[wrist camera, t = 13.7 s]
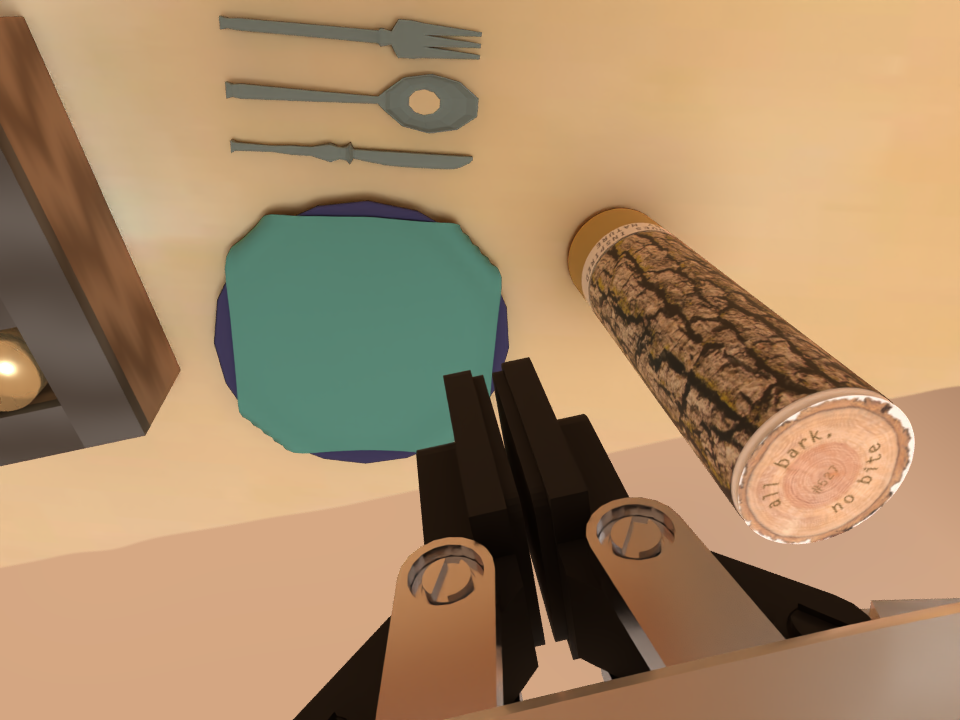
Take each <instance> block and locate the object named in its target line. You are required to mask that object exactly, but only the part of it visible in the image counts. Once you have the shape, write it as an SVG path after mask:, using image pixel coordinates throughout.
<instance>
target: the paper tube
mask: <svg viewBox="0 0 960 720" xmlns="http://www.w3.org/2000/svg"><path fill="white" fill-rule="evenodd" d="M568 267H569V272H570V276H571V278H572V281H573V283H574V284H575V286H576V287H577V289H578V290H579V291H580V293H581V294H582V296H583V297H584V298H585V300H586V301H587V303H588V304H589V306H590V307H591V309H592V310H593V312H594V313H595V314H596V316H597V317H598V319H599V320H600V321H601V323H602V324H603V326H604V327H605V328H606V330H607V331H608V332H609V334H610V335H611V337H612V338H613V339H614V341H615V342H616V344H617V345H618V346H619V348H620V349H621V351H622V352H623V353H624V355H625V356H626V358H627V359H628V360H629V362H630V363H631V365H632V366H633V367H634V369H635V370H636V372H637V373H638V374H639V376H640V377H641V378H642V380H643V381H644V383H645V384H646V385H647V387H648V388H649V390H650V391H651V392H652V394H653V395H654V397H655V398H656V399H657V401H658V402H659V404H660V405H661V406H662V408H663V409H664V411H665V412H666V413H667V415H668V416H669V418H670V419H671V420H672V422H673V423H674V424H675V426H676V427H677V429H678V430H679V431H680V433H681V434H682V436H683V437H684V438H685V440H686V441H687V443H688V444H689V445H690V447H691V448H692V449H693V451H694V452H695V454H696V455H697V456H698V458H699V459H700V461H701V462H702V464H703V465H704V466H705V467H706V469H707V470H708V472H709V473H710V475H711V476H712V477H713V479H714V480H715V482H716V483H717V484H718V486H719V487H720V489H721V490H722V491H723V493H724V494H725V496H726V497H727V498H728V500H729V501H730V502H731V504H732V505H733V507H734V508H735V510H736V511H737V512H738V514H739V515H740V516H741V517H742V519H743V520H744V521H745V522H746V523H747V525H748V526H749V527H750V528H751V529H752V530H753V531H754V532H756V533H757V534H759V535H760V536H762V537H764V538H766V539H768V540H772V541H775V542H779V543H787V544H803V543H811V542H816V541H821V540H824V539H828V538H831V537H834V536H836V535H838V534H841V533H843V532H846V531H848V530H849V529H852V528H853V527H855V526H857V525H859V524H860V523H862V522H863V521H865V520H866V519H868V518H869V517H870V516H871V515H873V514H874V513H875V512H877V510H879V509H880V508H881V507H882V506H883V505H884V504H885V503H886V502H887V501H888V500H889V499H890V498H891V497H892V495H893V494H894V493H895V492H896V490H897V489H898V488H899V486H900V485H901V483H902V481H903V480H904V478H905V476H906V474H907V472H908V470H909V467H910V465H911V461H912V458H913V453H914V442H915V441H914V433H913V429H912V426H911V424H910V421H909V420H908V418H907V417H906V415H905V414H904V413H903V412H902V411H901V410H900V409H899V408H898V407H897V406H895V405H894V404H893V403H892V402H891V401H890V400H889V399H888V398H886V397H885V396H884V395H882V394H881V393H880V392H878V391H877V390H876V389H874V388H873V387H872V386H871V385H869V384H868V383H867V382H865V381H864V380H863V379H861V378H860V377H859V376H857V375H856V374H855V373H853V372H852V371H851V370H850V369H848V368H847V367H846V366H844V365H843V364H842V363H840V362H839V361H838V360H836V359H835V358H834V357H832V356H831V355H830V354H829V353H827V352H826V351H825V350H823V349H822V348H821V347H819V346H818V345H817V344H815V343H814V342H813V341H811V340H810V339H809V338H808V337H806V336H805V335H804V334H802V333H801V332H800V331H798V330H797V329H796V328H794V327H793V326H792V325H790V324H789V323H788V322H787V321H785V320H784V319H783V318H781V317H780V316H779V315H777V314H776V313H775V312H773V311H772V310H771V309H769V308H768V307H767V306H766V305H764V304H763V303H762V302H760V301H759V300H758V299H756V298H755V297H754V296H752V295H751V294H750V293H748V292H747V291H746V290H745V289H743V288H742V287H741V286H739V285H738V284H737V283H735V282H734V281H733V280H731V279H730V278H729V277H727V276H726V275H725V274H724V273H722V272H721V271H720V270H718V269H717V268H716V267H714V266H713V265H712V264H710V263H709V262H708V261H706V260H705V259H704V258H703V257H701V256H700V255H699V254H697V253H696V252H695V251H693V250H692V249H691V248H689V247H688V246H687V245H686V244H684V243H683V242H682V241H680V240H679V239H678V238H676V237H675V236H674V235H672V234H671V233H670V232H668V231H667V230H665V229H664V228H663V227H661V226H660V225H659V224H657V223H656V222H655V221H653V220H652V219H651V218H649V217H648V216H647V215H645V214H643V213H641V212H639V211H636V210H632V209H626V208H617V209H611V210H607V211H605V212H602V213H600V214H598V215H596V216H594V217H593V218H591V219H590V220H589V221H588V222H586V223H585V224H584V225H583V226H582V227H581V229H580V230H579V231H578V233H577V234H576V236H575V238H574V239H573V242H572V244H571V247H570V250H569V256H568Z"/></svg>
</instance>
